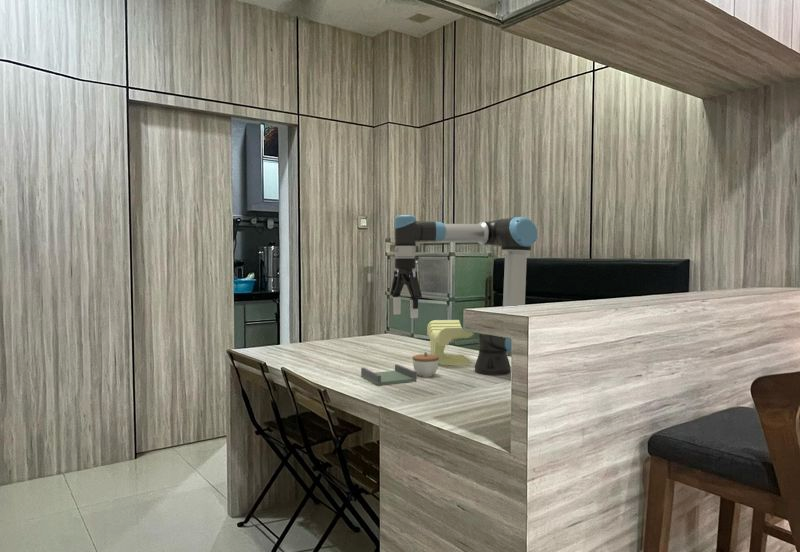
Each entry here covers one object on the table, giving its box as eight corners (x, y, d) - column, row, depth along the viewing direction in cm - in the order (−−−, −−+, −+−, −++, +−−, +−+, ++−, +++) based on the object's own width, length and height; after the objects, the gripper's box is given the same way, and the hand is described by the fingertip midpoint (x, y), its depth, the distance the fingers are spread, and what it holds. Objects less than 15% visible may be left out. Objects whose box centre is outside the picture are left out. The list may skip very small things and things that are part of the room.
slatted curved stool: (427, 356, 263) (427, 320, 263) (458, 355, 265) (459, 319, 264) (438, 368, 233) (438, 328, 233) (474, 367, 235) (474, 327, 235)
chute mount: (397, 373, 224) (397, 364, 224) (416, 381, 209) (416, 372, 209) (361, 376, 217) (361, 367, 217) (378, 385, 201) (378, 376, 201)
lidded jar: (410, 377, 216) (410, 354, 216) (415, 371, 227) (415, 349, 226) (436, 378, 214) (436, 355, 213) (440, 373, 224) (440, 351, 224)
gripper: (381, 257, 203) (381, 313, 204) (412, 257, 181) (412, 320, 181) (399, 257, 206) (399, 312, 207) (431, 257, 184) (431, 318, 185)
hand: (405, 316), depth 194 cm, fingers open, 13 cm apart
